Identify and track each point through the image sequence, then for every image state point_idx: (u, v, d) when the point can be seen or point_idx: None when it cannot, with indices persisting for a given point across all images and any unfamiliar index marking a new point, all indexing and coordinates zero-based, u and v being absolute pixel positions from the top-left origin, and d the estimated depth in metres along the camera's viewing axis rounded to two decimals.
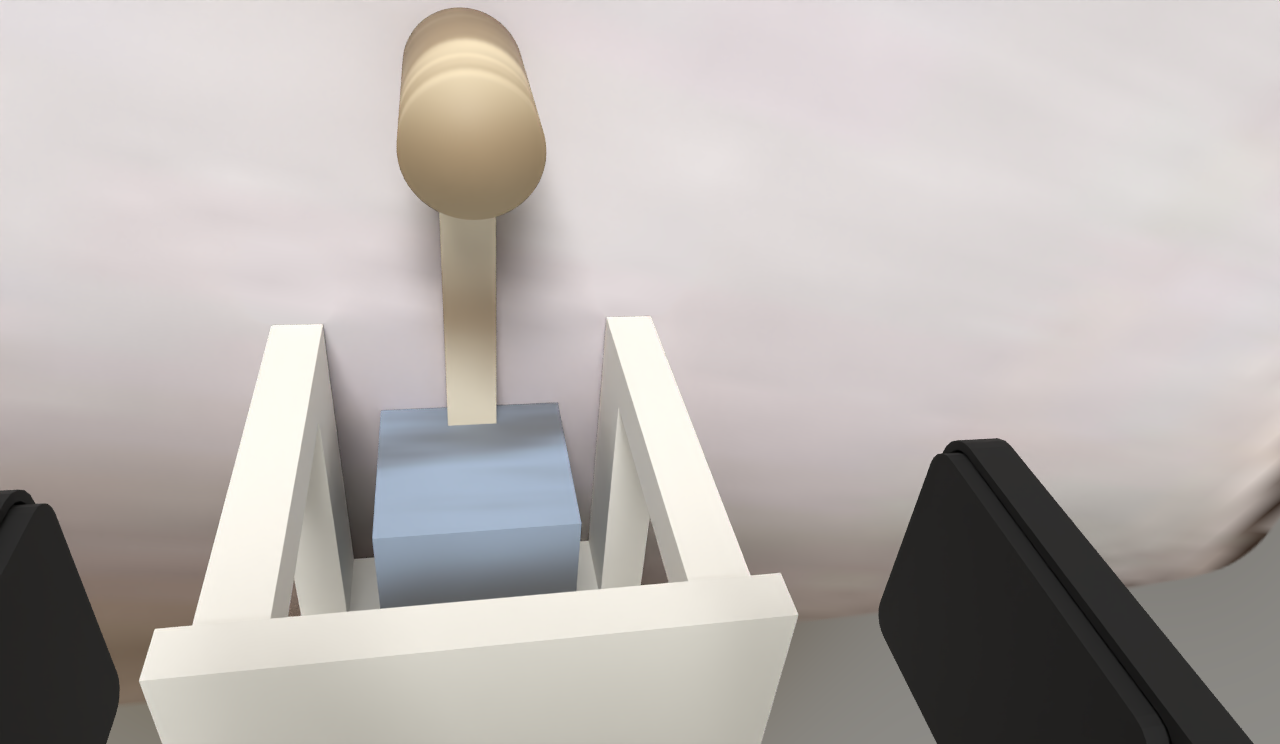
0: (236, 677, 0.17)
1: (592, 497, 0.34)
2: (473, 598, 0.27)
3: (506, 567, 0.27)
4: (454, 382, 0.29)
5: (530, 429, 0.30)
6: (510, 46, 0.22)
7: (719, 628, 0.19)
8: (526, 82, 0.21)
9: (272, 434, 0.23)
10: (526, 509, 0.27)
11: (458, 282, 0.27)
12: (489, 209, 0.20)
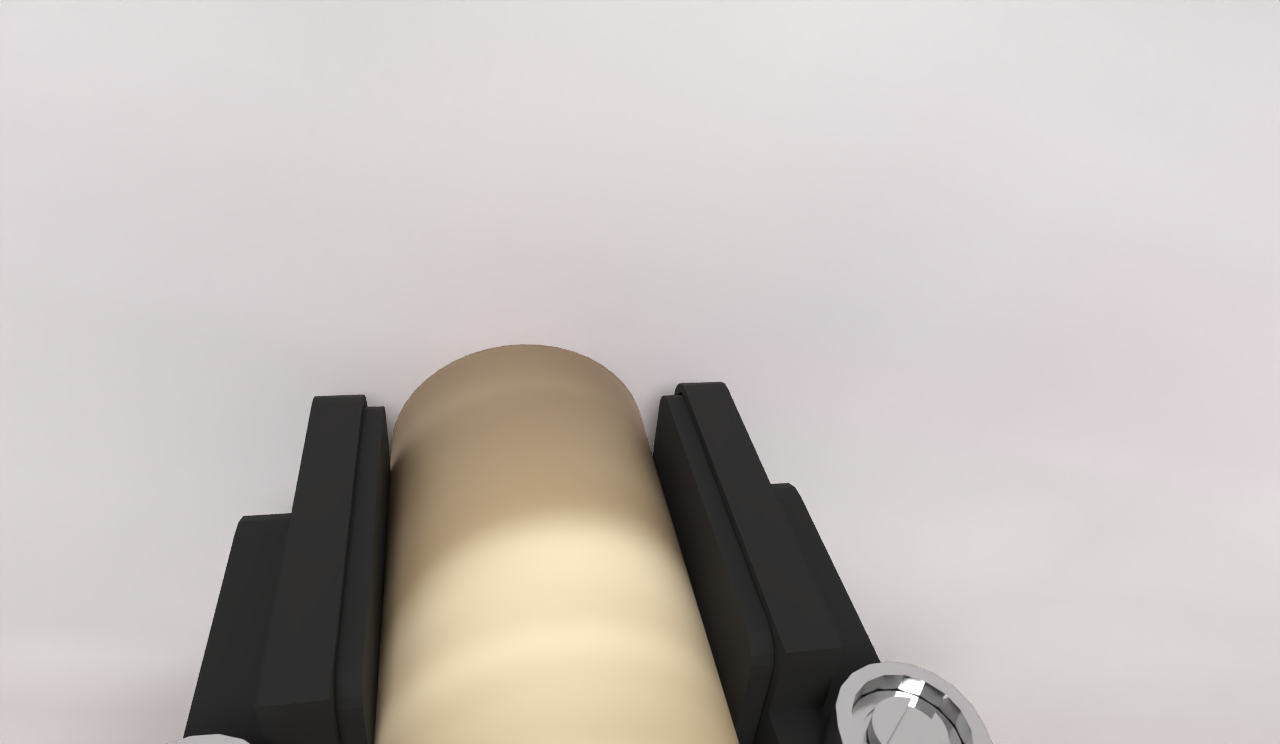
0: None
1: None
2: None
3: None
4: None
5: None
6: (639, 466, 0.10)
7: None
8: (698, 623, 0.08)
9: None
10: None
11: None
12: None
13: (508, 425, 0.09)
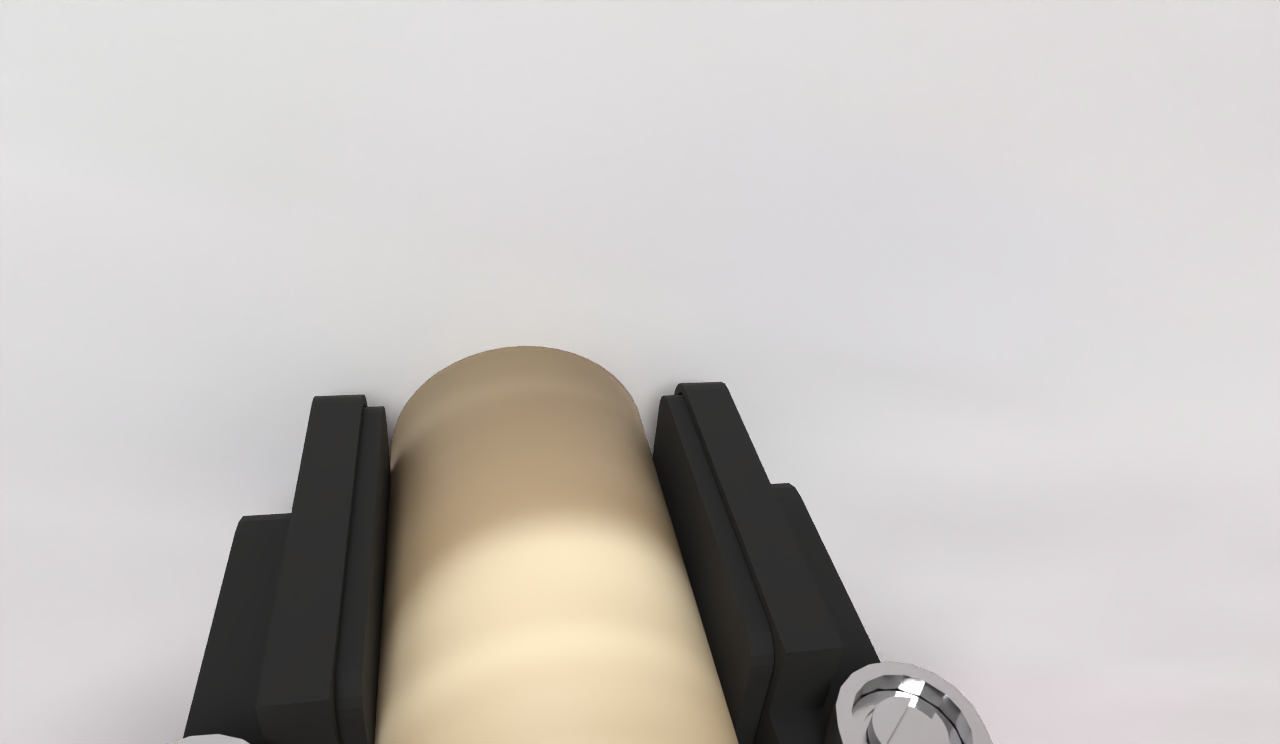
0: None
1: None
2: None
3: None
4: None
5: None
6: (638, 467, 0.10)
7: None
8: (697, 625, 0.08)
9: None
10: None
11: None
12: None
13: (507, 427, 0.09)
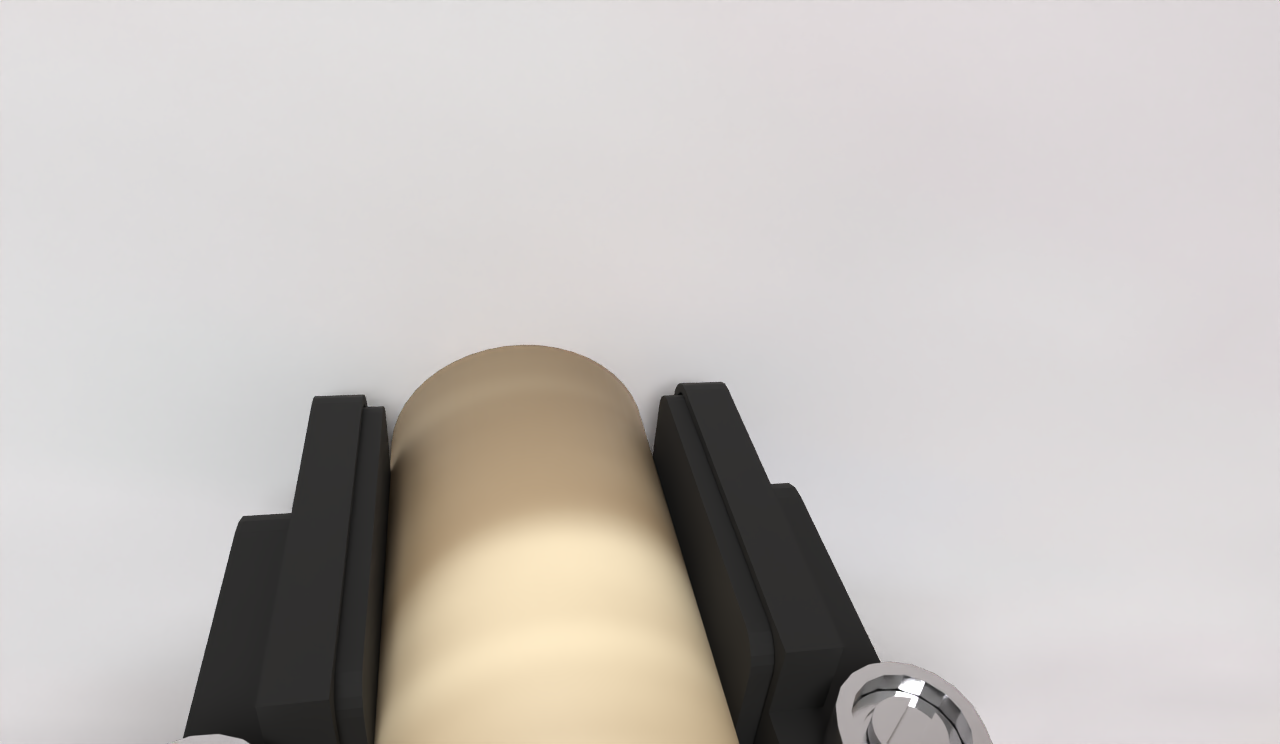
0: None
1: None
2: None
3: None
4: None
5: None
6: (639, 466, 0.10)
7: None
8: (698, 624, 0.08)
9: None
10: None
11: None
12: None
13: (508, 425, 0.09)
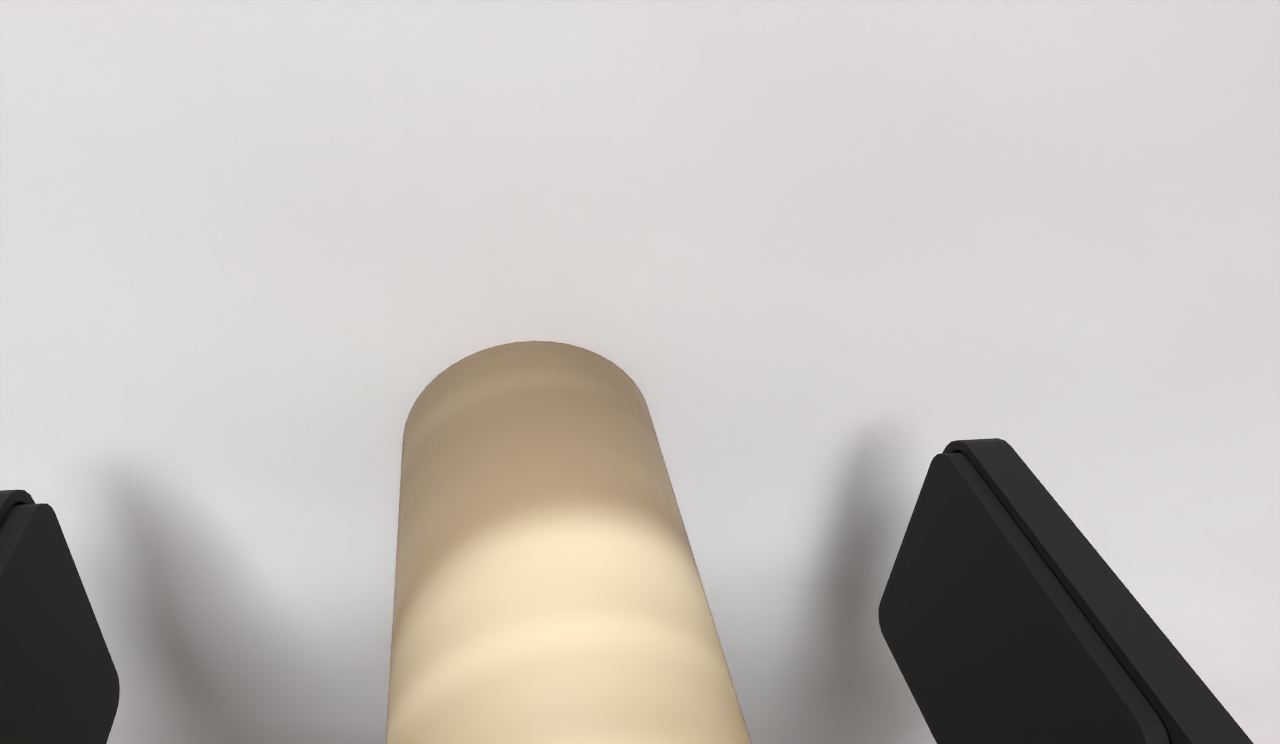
0: None
1: None
2: None
3: None
4: None
5: None
6: (648, 461, 0.10)
7: None
8: (707, 617, 0.08)
9: None
10: None
11: None
12: None
13: (520, 420, 0.09)
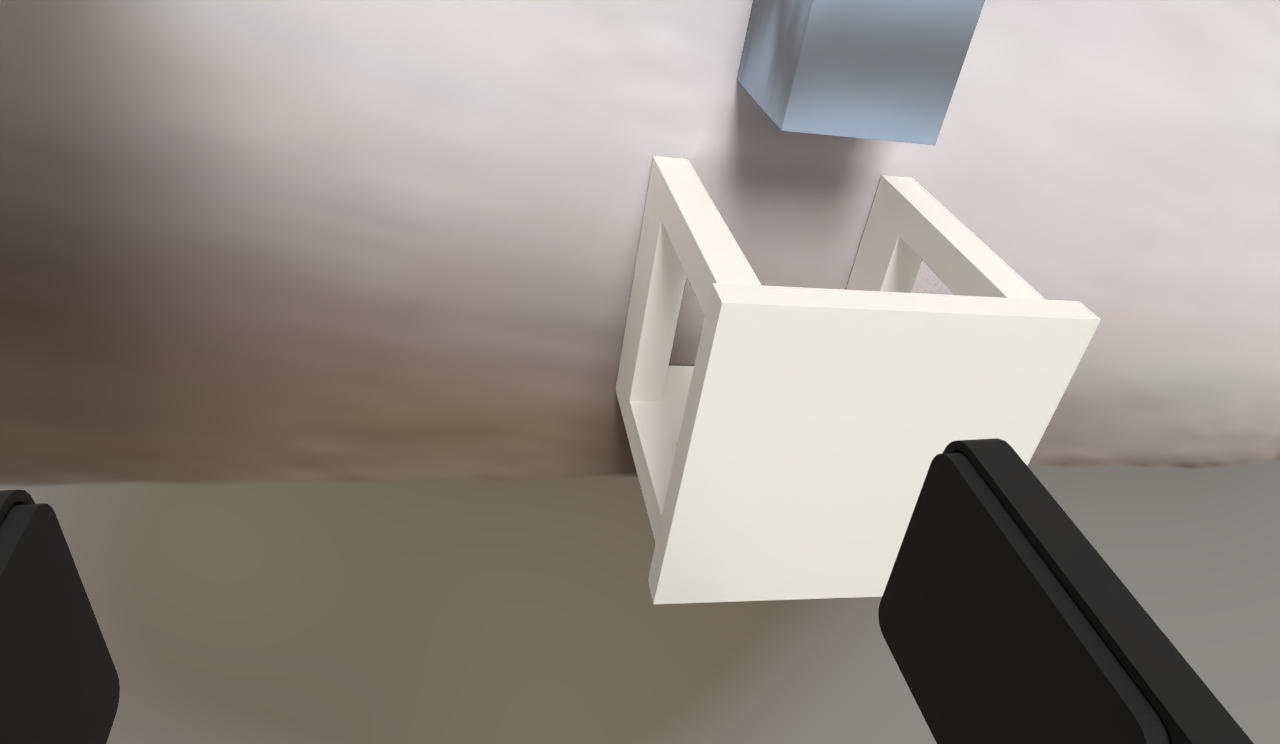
0: (773, 310, 0.26)
1: None
2: (880, 48, 0.30)
3: (918, 13, 0.29)
4: None
5: None
6: None
7: (1051, 323, 0.29)
8: None
9: (699, 211, 0.33)
10: None
11: None
12: None
13: None
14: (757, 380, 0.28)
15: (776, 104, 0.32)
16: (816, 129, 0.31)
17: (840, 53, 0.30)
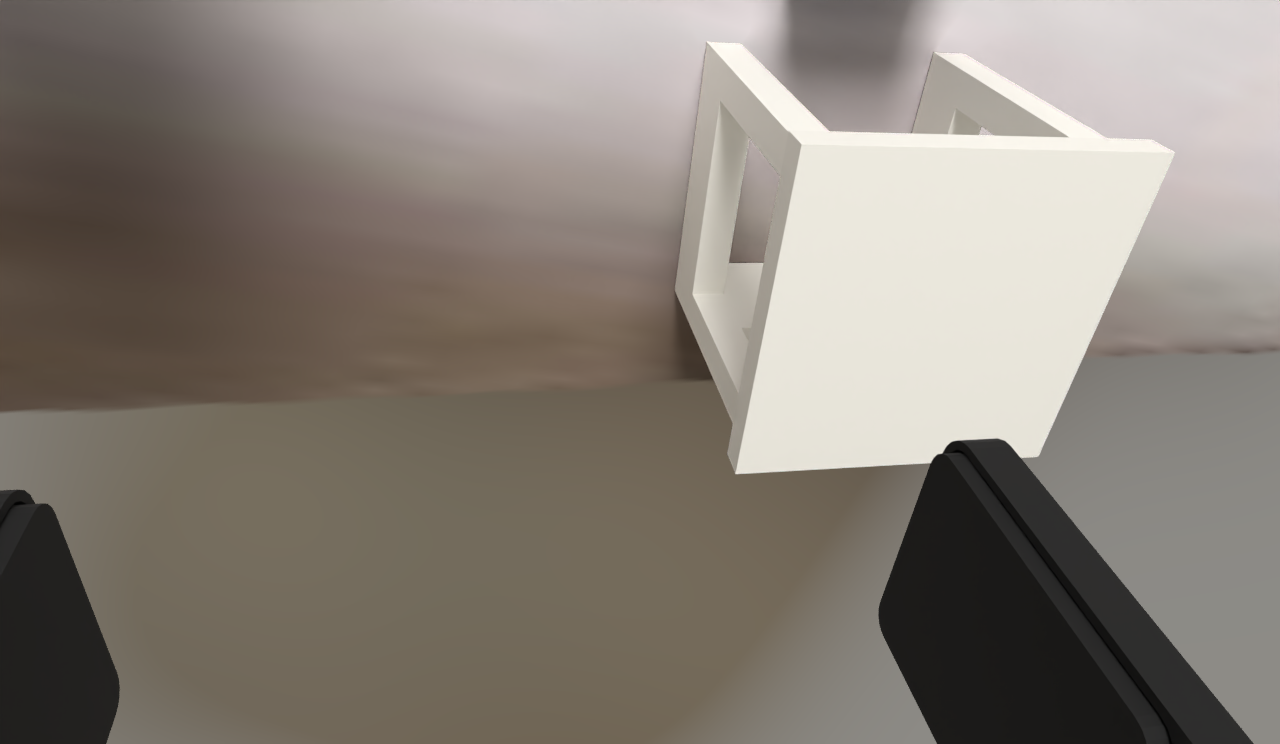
0: (851, 151, 0.27)
1: None
2: None
3: None
4: None
5: None
6: None
7: (1126, 157, 0.29)
8: None
9: (761, 82, 0.33)
10: None
11: None
12: None
13: None
14: (836, 228, 0.28)
15: None
16: None
17: None
